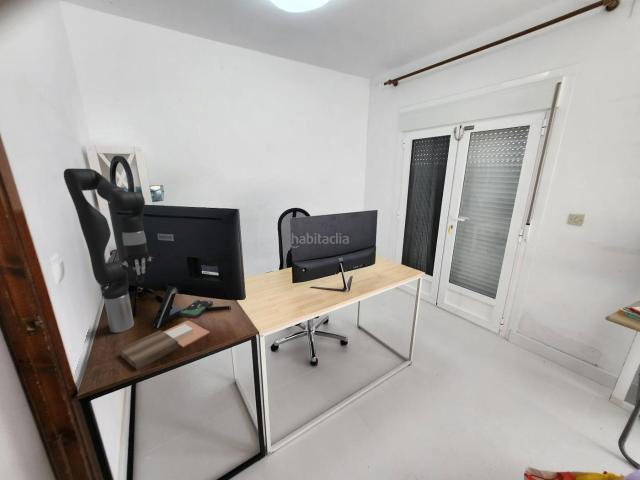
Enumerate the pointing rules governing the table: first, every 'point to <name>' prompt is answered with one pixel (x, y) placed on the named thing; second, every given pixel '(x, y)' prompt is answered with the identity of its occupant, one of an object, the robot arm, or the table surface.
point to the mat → (197, 334)
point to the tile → (180, 332)
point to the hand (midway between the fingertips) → (141, 282)
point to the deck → (148, 349)
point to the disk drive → (196, 309)
